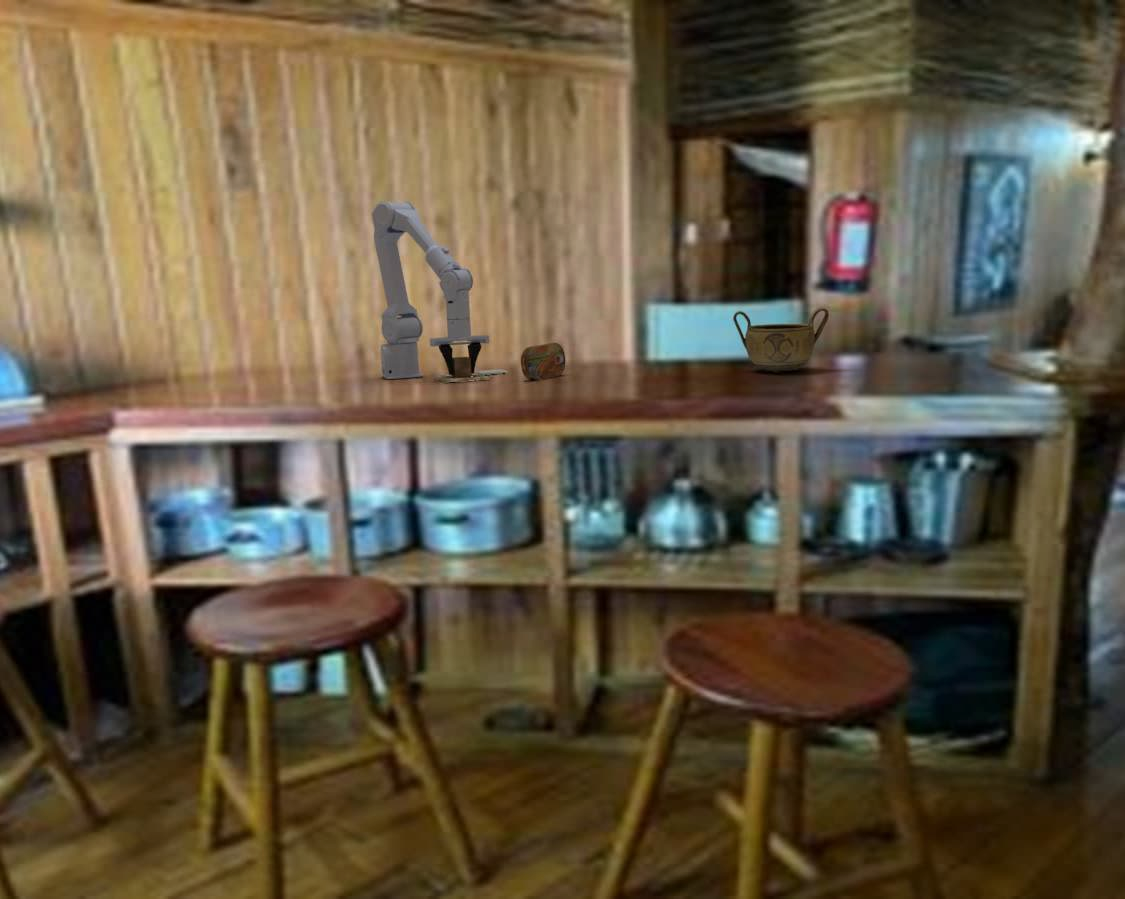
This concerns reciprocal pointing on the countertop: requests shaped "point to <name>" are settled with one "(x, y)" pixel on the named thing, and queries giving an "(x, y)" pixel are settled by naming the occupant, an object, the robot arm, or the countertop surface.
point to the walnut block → (461, 367)
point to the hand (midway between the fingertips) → (461, 374)
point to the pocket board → (448, 378)
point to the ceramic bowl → (780, 343)
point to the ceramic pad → (492, 372)
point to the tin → (543, 361)
